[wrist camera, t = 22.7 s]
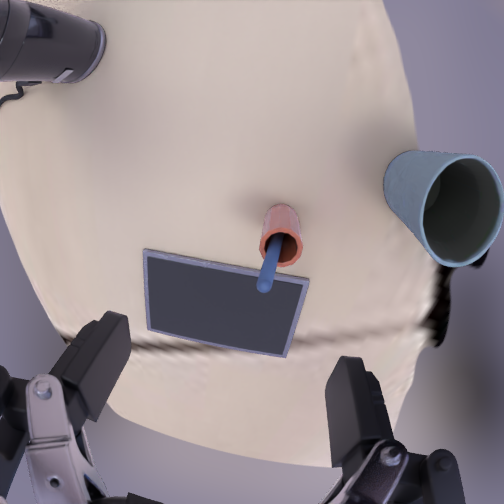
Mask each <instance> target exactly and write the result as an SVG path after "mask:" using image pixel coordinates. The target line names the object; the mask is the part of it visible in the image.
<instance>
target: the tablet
mask: <svg viewBox="0 0 504 504" xmlns="http://www.w3.org/2000/svg"><path fill="white" fill-rule="evenodd" d="M143 269H144V290H145V305H146V318H147V329H148V330H150V331H154V332H158V333H161V334H165V335H169V336H174V337H178V338H182V339H186V340H191V341H195V342H200V343H204V344H209V345H214V346H219V347H224V348H229V349H234V350H239V351H245V352H251V353H257V354H263V355H269V356H276V357H282V358H286V356H287V353H288V350H289V347H290V344H291V341H292V338H293V335H294V332H295V328H296V325H297V322H298V319H299V316H300V312H301V309H302V306H303V302H304V299H305V296H306V292H307V289H308V285H309V282H310V281H309V279H308V278H302V277H296V276H290V275H285V274H279V273H275V275H274V279H273V283H272V287H271V289H270V291H268V292H266V293H262V292H260V291H259V290H258V289H257V286H256V285H257V281H258V278H259V274H260V271H261V270H256V269H251V268H245V267H240V266H234V265H229V264H223V263H218V262H212V261H207V260H202V259H196V258H191V257H186V256H180V255H175V254H170V253H165V252H160V251H154V250H149V249H144V250H143Z"/></svg>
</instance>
